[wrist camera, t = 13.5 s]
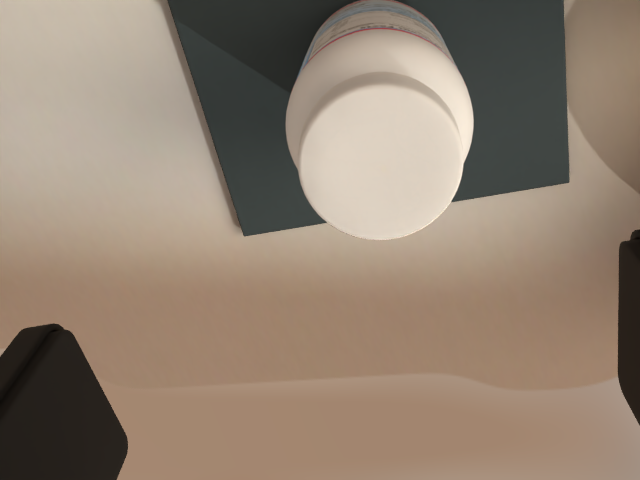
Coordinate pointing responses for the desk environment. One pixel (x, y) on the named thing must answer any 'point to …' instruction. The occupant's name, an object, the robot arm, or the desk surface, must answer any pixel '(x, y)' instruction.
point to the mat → (287, 58)
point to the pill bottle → (379, 121)
